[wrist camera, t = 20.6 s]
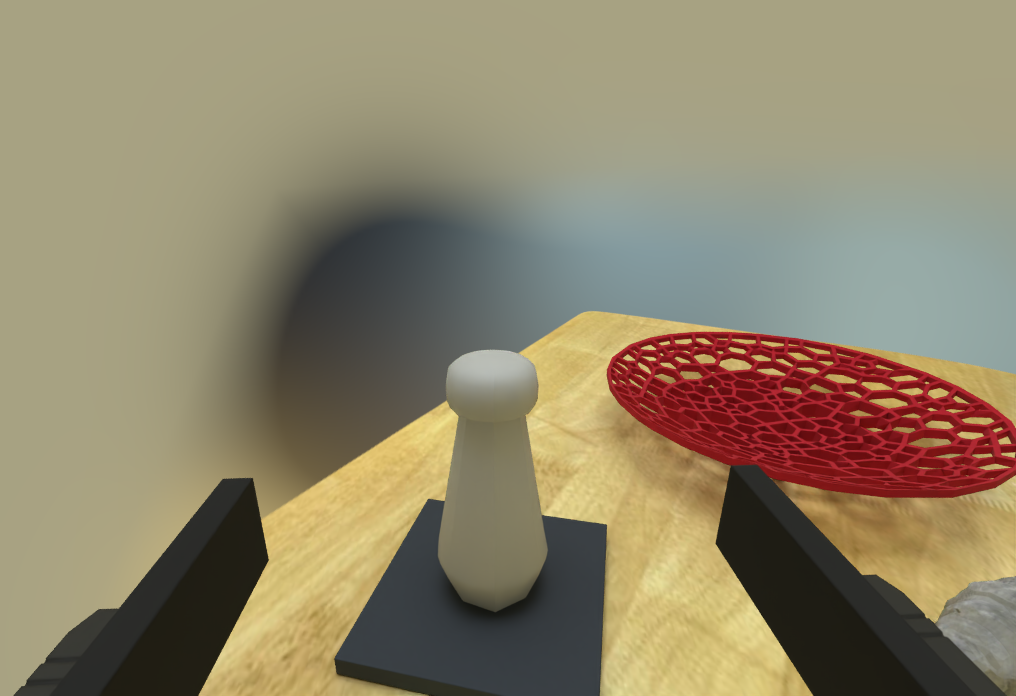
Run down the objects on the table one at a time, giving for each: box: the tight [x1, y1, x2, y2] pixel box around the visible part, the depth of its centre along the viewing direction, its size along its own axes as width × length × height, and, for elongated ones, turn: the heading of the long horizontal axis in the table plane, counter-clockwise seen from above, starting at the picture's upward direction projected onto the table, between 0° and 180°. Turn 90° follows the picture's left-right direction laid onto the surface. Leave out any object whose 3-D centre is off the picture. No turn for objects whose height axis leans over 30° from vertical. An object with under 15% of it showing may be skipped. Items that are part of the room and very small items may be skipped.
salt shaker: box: [438, 350, 548, 612], centre depth 25 cm, size 6×6×13 cm
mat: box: [334, 499, 607, 696], centre depth 27 cm, size 12×12×1 cm
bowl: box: [607, 332, 1016, 498], centre depth 43 cm, size 29×29×5 cm
